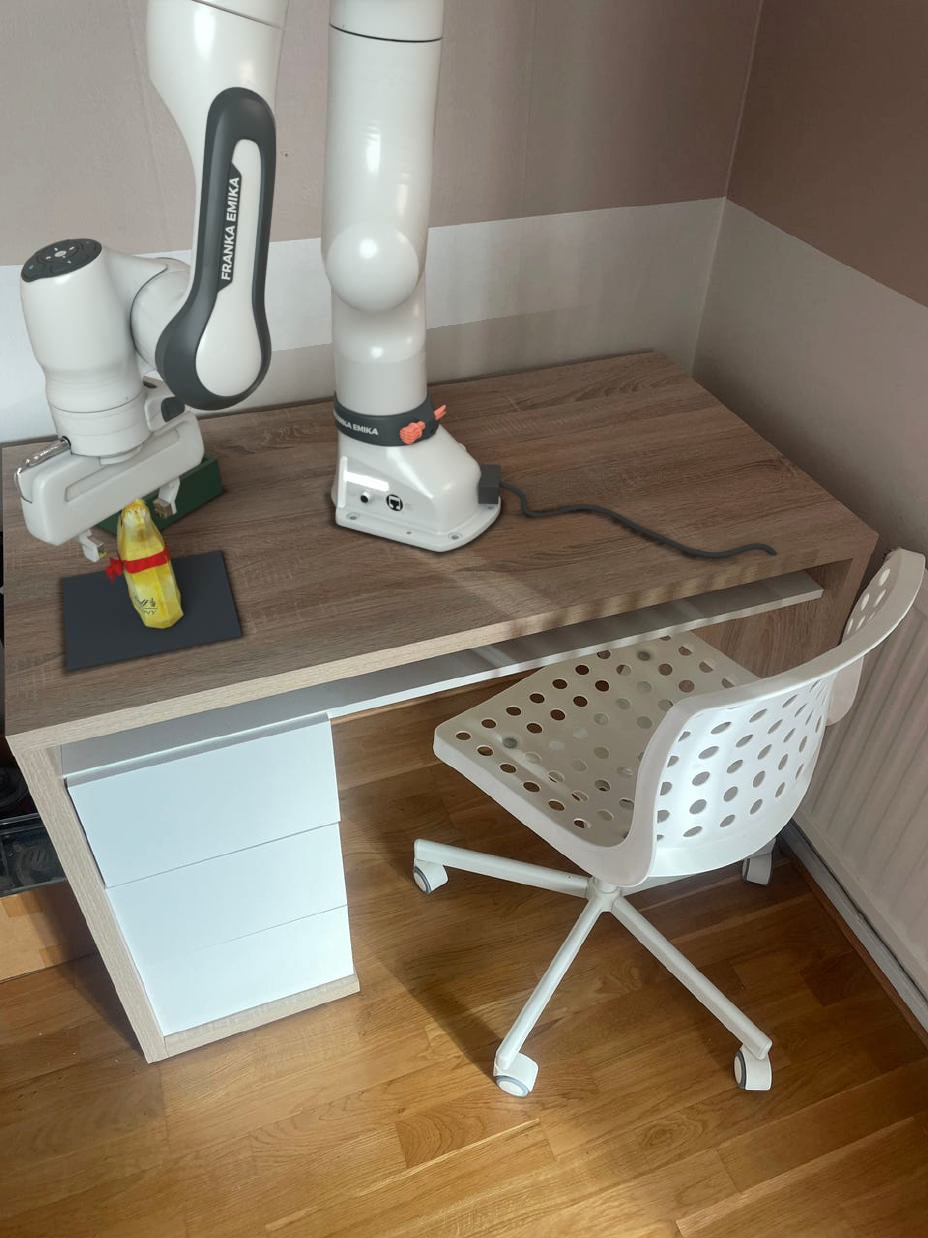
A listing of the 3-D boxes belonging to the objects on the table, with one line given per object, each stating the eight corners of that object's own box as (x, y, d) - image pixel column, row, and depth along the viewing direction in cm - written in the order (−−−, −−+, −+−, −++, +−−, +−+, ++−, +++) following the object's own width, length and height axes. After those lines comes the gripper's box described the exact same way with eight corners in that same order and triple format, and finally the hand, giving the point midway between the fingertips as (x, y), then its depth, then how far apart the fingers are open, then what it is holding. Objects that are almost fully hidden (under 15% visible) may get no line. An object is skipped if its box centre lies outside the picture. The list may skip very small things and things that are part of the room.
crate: (223, 491, 127) (217, 458, 124) (136, 545, 118) (128, 510, 115) (143, 456, 134) (136, 423, 131) (55, 504, 125) (45, 470, 121)
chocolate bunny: (167, 570, 114) (141, 459, 104) (192, 625, 106) (167, 511, 97) (107, 586, 111) (75, 474, 102) (129, 644, 104) (97, 528, 94)
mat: (221, 552, 117) (220, 550, 117) (242, 636, 106) (241, 633, 106) (63, 580, 113) (63, 578, 112) (67, 671, 101) (66, 668, 101)
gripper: (32, 475, 86) (71, 596, 95) (202, 387, 99) (222, 501, 108) (-12, 453, 89) (30, 573, 98) (159, 370, 102) (182, 483, 111)
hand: (132, 535), depth 103 cm, fingers open, 8 cm apart
